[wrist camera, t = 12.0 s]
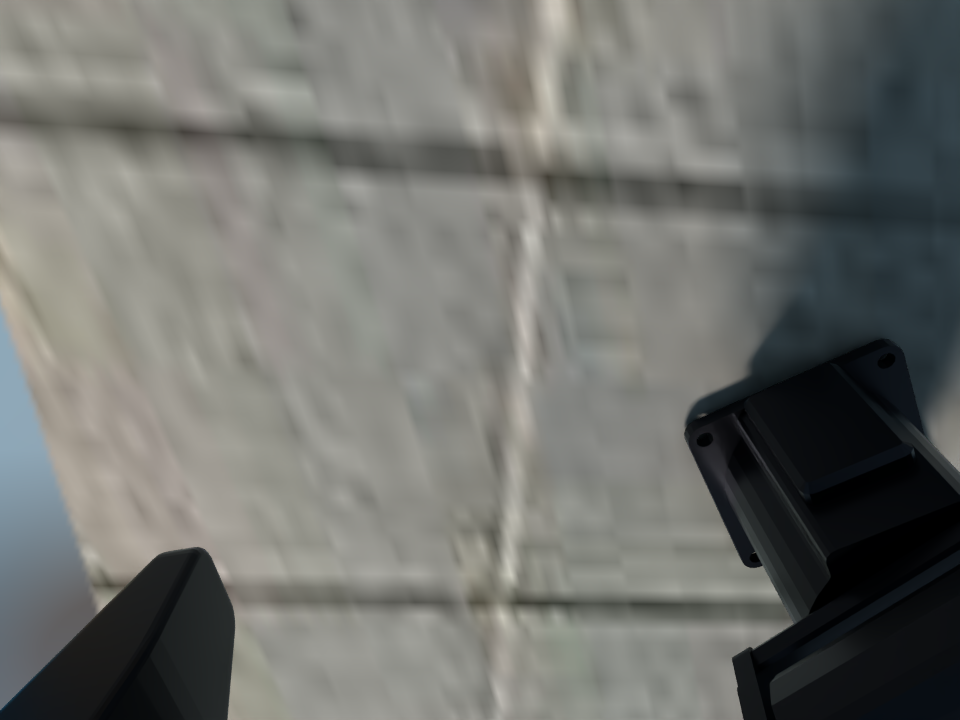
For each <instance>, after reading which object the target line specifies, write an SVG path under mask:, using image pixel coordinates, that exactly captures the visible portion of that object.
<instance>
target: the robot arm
mask: <svg viewBox="0 0 960 720" xmlns="http://www.w3.org/2000/svg"><path fill="white" fill-rule="evenodd" d="M887 353H888V354H887ZM884 354H887V356H886V357H885V358H884V359H883V360H881V361H878V360H879V358H880V357H881V356H882V355H884ZM704 433H708V435H707V436H706V437H704V438H702V439H697V438H698V436H700V435H701V434H704ZM684 436H685V440H686V442H687V444H688V446H689V448H690V451H691V453H692V455H693V457H694V459H695V461H696V464H697V466H698V468H699V470H700V472H701V474H702V477H703V479H704V481H705V483H706V485H707V487H708V489H709V492H710V494H711V496H712V498H713V500H714V502H715V505H716V507H717V509H718V511H719V513H720V515H721V518H722V520H723V522H724V524H725V526H726V528H727V530H728V533H729V535H730V537H731V539H732V541H733V543H734V546H735V548H736V550H737V552H738V554H739V556H740V558H741V560H742V562H743V563H744V565H745V566H747V567H750V568H757V567H760V566H763V567H764V568H765V570H766V572H767V574H768V576H769V578H770V580H771V582H772V583H773V585H774V587H775V589H776V591H777V593H778V595H779V597H780V598H781V600H782V602H783V604H784V606H785V608H786V610H787V612H788V613H789V615H790V617H791V619H792V621H793V623H794V624H793V625H791V626H790V627H788V628H786V629H785V630H783V631H782V632H780V633H778V634H777V635H775V636H774V637H772V638H770V639H769V640H767V641H766V642H764V643H762V644H761V645H759V646H758V647H756V648H754V649H752V648H751V647H749V648H747V649H746V650H744V651H742V652H741V653H739V654H738V655H736V656H734V657H733V658H732V662H733V666H734V671H735V675H736V680H737V684H738V687H737V692H738V696H739V700H740V705H741V709H742V714H743V718H744V720H960V472H959V471H958V470H957V469H956V468H955V467H954V466H953V465H952V464H951V463H950V462H949V461H948V460H947V459H946V458H945V457H944V456H943V455H942V454H941V453H940V452H939V451H938V450H937V449H936V448H935V447H934V446H933V444H932V443H931V442H930V441H929V440H928V439H927V438H926V437H925V436H924V432H923V428H922V424H921V420H920V416H919V412H918V408H917V404H916V400H915V396H914V392H913V388H912V384H911V380H910V376H909V372H908V368H907V364H906V360H905V356H904V353H903V351H902V350H901V348H900V347H898V346H897V345H896V344H895V343H894V342H893V341H891V340H889V339H880V340H876V341H874V342H872V343H869V344H867V345H865V346H863V347H860V348H858V349H856V350H853V351H851V352H849V353H847V354H844V355H842V356H840V357H838V358H835V359H833V360H831V361H828V362H826V363H824V364H822V365H819V366H817V367H815V368H813V369H810V370H808V371H806V372H804V373H801V374H799V375H797V376H794V377H792V378H790V379H788V380H785V381H783V382H781V383H779V384H776V385H774V386H772V387H770V388H767V389H765V390H763V391H760V392H758V393H756V394H754V395H751V396H749V397H747V398H745V399H742V400H740V401H738V402H736V403H733V404H731V405H729V406H726V407H724V408H722V409H720V410H717V411H715V412H713V413H711V414H708V415H706V416H704V417H702V418H699V419H697V420H695V421H693V422H692V423H690V424H689V425H688V427H687V428H686V430H685V433H684ZM754 552H756V553H754ZM752 553H753V554H752ZM234 636H235V616H234V610H233V606H232V604H231V601H230V599H229V596H228V594H227V592H226V590H225V587H224V585H223V583H222V581H221V578H220V576H219V574H218V572H217V569H216V567H215V565H214V563H213V560H212V558H211V556H210V555H209V553H208V552H207V551H206V550H205V549H203V548H200V547H193V548H186V549H180V550H174V551H168V552H164V553H161V554H159V555H158V556H156V557H155V558H154V559H153V560H152V561H151V562H150V563H149V564H148V565H147V566H146V567H145V568H144V569H143V570H142V571H141V572H140V573H139V574H138V575H137V576H136V577H135V578H134V579H133V580H132V581H131V582H130V583H129V584H128V585H127V586H126V587H124V588H123V589H122V590H121V591H120V592H119V593H118V594H117V595H116V596H115V597H114V598H113V599H112V600H111V601H110V602H109V603H108V604H107V605H106V606H105V607H104V608H103V609H102V610H101V611H100V612H99V613H98V614H97V615H96V616H95V617H94V618H93V619H92V620H91V621H90V622H89V623H88V624H87V625H86V626H85V627H84V628H83V629H82V630H81V631H80V632H79V633H78V634H77V635H76V636H75V637H74V638H73V639H72V640H71V641H70V642H69V643H68V644H67V645H66V646H65V647H64V648H63V649H62V650H61V651H60V652H59V653H58V654H57V655H56V656H55V657H54V658H53V659H52V660H51V661H50V662H49V663H48V664H47V665H46V666H45V667H44V668H43V669H42V670H41V671H40V672H39V673H38V674H36V676H35V677H33V678H32V679H31V680H30V682H28V683H27V684H26V685H25V686H24V687H23V688H22V689H21V690H20V691H19V692H18V693H17V694H16V695H15V696H14V697H13V698H12V699H11V700H10V701H9V702H8V703H7V704H6V705H5V706H4V707H3V708H2V709H1V710H0V720H227V718H228V706H229V695H230V683H231V671H232V659H233V648H234Z"/></svg>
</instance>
